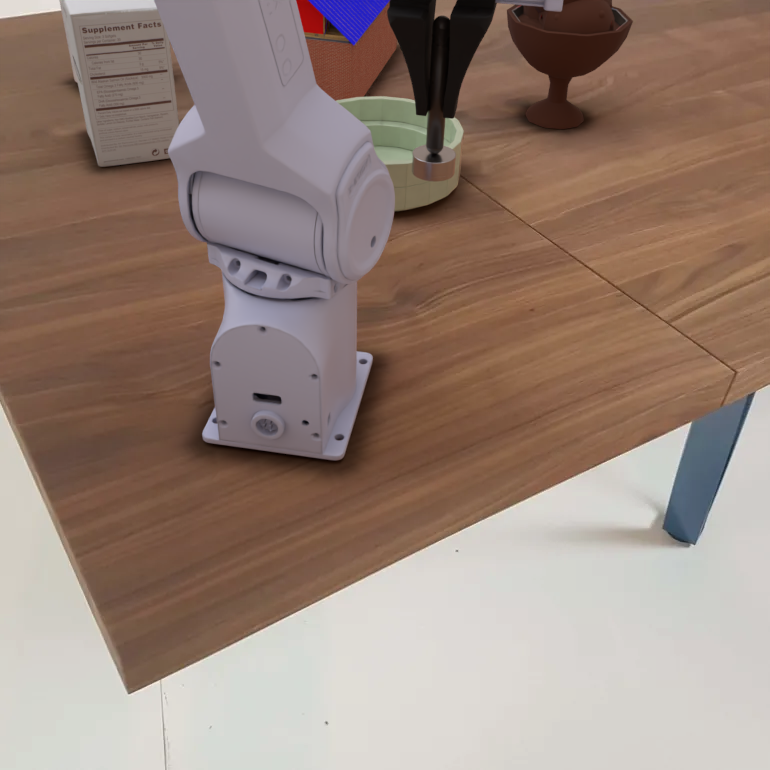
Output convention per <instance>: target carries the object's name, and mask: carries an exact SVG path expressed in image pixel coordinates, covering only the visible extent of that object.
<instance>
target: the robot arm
mask: <svg viewBox="0 0 770 770" xmlns="http://www.w3.org/2000/svg"><path fill="white" fill-rule="evenodd" d="M154 2H155V4H156V7H157V9H158V12H159V15H160V17H161V20H162V22H163V25H164V27H165V30H166V32H167V35H168V38H169V42H170V46H171V48H172V50H173V53H174V55H175V58H176V60H177V63H178V65H179V69H180V71H181V73H182V76H183V79H184V81H185V84H186V86H187V88H188V91H189V94H190V96H191V99H192V102H193V106H192V107H191V108H190V109H189V110H188V111H187V112H186V114H185V115H184V117H183V119H182V120H181V121H180V122H179V126H178V128H177V130H176V132H175V134H174V137H173V139H172V142H171V144H170V146H169V149H168V154H169V156H170V158H169V159H170V160H171V161H170V162H171V163H172V166H173V169H174V171H175V175H176V181H177V199H178V206H179V210H180V211H179V213H180V216H181V220H182V223H183V225H184V227H185V229H186V230H187V232H188V233H189V234H190V236H191V237H193V238H194V239H195V240H197V241H199V242H201V243H205V244H206V246H207V247H206V248H207V255H208V257H207V258H208V263H209V264H210V265H213V266H215V267H217V268H218V269H220V271H221V278H222V287H223V288H222V289H223V299H224V310H223V316H222V320H221V323H220V325H219V328H218V331H217V333H216V334H215V337H214V339H213V341H212V344H211V346H210V347H211V348H210V353H209V367H210V377H211V385H212V392H213V393H212V394H213V401H214V407H213V410H212V412H211V414H210V416H209V417H208V420H207V422H206V424H205V426H204V428H203V430H202V431H201V432H202V433H201V436H202V440H203V441H204V442H205V443H208V444H212V445H213V444H214V445H219V446H227V447H234V448H241V449H242V448H243V449H249V450H255V451H264V452H271V453H278V454H284V455H285V454H286V455H292V456H299V457H306V458H313V459H320V460H328V461H340V460H342V459H343V458H344V457H345V455H346V451H347V448H348V445H349V442H350V439H351V434H352V432H353V428H354V425H355V422H356V420H357V419H356V418H357V415H358V411H359V409H360V406H361V402H362V399H363V396H364V392H365V388H366V386H367V382H368V379H369V375H370V372H371V369H372V366H373V363H374V359H373V358H374V357H373V355H372V354H371V353H370V352H366V351H358V350H357V349H358V346H357V345H358V344H357V343H358V281H360V280H361V279H362V278H363V277H365V276H366V275H367V274H368V273H369V272H371V270H373V268H375V266H376V264H377V263H378V262H379V260H380V258H381V257H382V254H383V252H384V251H385V248H386V246H387V243H388V240H389V237H390V234H391V231H392V227H393V222H394V216H395V212H394V209H395V192H394V186H393V182H392V180H391V178H390V175H389V172H388V169H387V167H386V165H385V164H384V163H383V162H382V161H381V160H380V159H379V158H378V156H377V155H376V152H375V149H374V145H373V141H372V136H371V131H370V130H369V129H368V127H367V126H366V125H364V124H363V123H362V122H361V121H360V120H358V119H357V118H356V117H355V116H354V115H353V114H351V113H350V112H349V111H348V110H346V109H345V108H344V107H343V106H341V105H340V104H339V103H338V102H336V101H335V100H334V99H333V98H331V97H330V96H329V95H328V94H327V93H325V92H324V91H323V90H322V89H321V88H320V87H319V86H318V85H317V84H316V80H315V76H314V72H313V68H312V63H311V59H310V55H309V51H308V47H307V43H306V39H305V35H304V31H303V26H302V22H301V18H300V14H299V10H298V6H297V2H296V0H154ZM497 4H503V5H512V6H514V5H526V6H538V7H544V9H545V10H546V11H557V12H561V11H562V6H563V0H455V4H454V6H453V7H452V10H451V12H450V16H449V19H450V44H449V69H448V78H447V85H446V91H445V98H444V106H443V118H451V119H452V118H454V117H455V116H456V112H457V110H458V105H459V104H458V102H459V98H460V93H461V88H462V85H463V81H464V79H465V77H466V74H467V71H468V69H469V67H470V65H471V62H472V60H473V58H474V56H475V54H476V52H477V50H478V48H479V46H480V44H481V42H482V41H483V39H484V38H485V36H486V34H487V32H488V31H489V28H490V26H491V24H492V21H493V19H494V15H495V11H496V9H497ZM436 6H437V0H390V3H389V8H388V10H387V16H388V20H389V24H390V27H391V28H392V30H393V32H394V34H395V37H396V39H397V44H398V45H399V48H400V50H401V53H402V56H403V59H404V61H405V65H406V66H407V71H408V75H409V79H410V83H411V87H412V92H413V97H414V99H413V100H415V107H416V115H420V116H426V115H427V112H428V102H429V82H430V63H431V45H432V27H433V22H434V20H435V19H436V17H435V16H436Z"/></svg>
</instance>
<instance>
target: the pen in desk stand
mask: <svg viewBox="0 0 770 770" xmlns="http://www.w3.org/2000/svg"><path fill="white" fill-rule="evenodd" d="M449 44H450V17H448V16H447V15H438V16H437V17H435V18H434V22H433V27H432V45H431V63H430V82H429V102H428V118H427V136H426V145H422V146H419V147H417V148H415V149H414V150H413V153H412V173H413V175H414V176H415V177H417V178H419V179H422V180H425V181H434V182H436V181H444V180H448V179H450V178H451V177H453V175H454V173H455V161H456V153H455V151H454V150H453V149H451V148H449V147H447V146H444V131H445V118H443V106H444V98H445V91H446V85H447V78H448V69H449Z"/></svg>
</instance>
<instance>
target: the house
mask: <svg viewBox="0 0 770 770" xmlns="http://www.w3.org/2000/svg"><path fill="white" fill-rule="evenodd" d="M296 2H297V6H298V10H299V14H300V18H301V22H302V26H303V31H304V35H305V39H306V43H307V47H308V51H309V55H310V59H311V63H312V68H313V72H314V76H315V80H316V84H317V85H318V86H319V87H320V88H321V89H322V90H323V91H324V92H325V93H327V94H328V95H329V96H330V97H331V98H333V99H334V100H335V101H336V100H342V99H348V98H355V97H365V95H366V94H367V93H368V91H369V90H370V88H371V86H372V85H373V84H374V82H375V81H376V79H377V78H378V76H379V75H380V74H381V72H382V70H383V69H384V67H385V66H386V65H387V63H388V61H389V60H390V59H391V57H392V56H393V54H394V53H395V51H396V50H397V47H398V45H397V44H398V41H397V39H396V37H395V34H394V32H393V30H392V28H391V27H390V24H389V20H388V16H387V10H388V8H389V3H390V0H296Z"/></svg>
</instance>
